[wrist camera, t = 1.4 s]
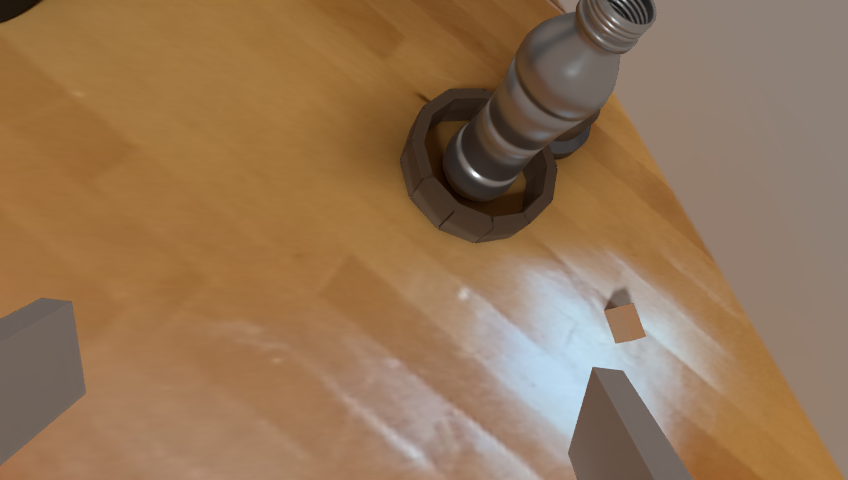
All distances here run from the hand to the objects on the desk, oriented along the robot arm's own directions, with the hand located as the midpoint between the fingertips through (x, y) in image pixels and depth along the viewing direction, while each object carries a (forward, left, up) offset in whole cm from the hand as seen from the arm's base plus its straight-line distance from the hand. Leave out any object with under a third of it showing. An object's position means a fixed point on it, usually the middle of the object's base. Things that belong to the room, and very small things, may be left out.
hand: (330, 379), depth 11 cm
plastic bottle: (-13, +19, -21) cm, 31 cm away
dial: (-16, +24, -20) cm, 35 cm away
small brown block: (+3, +29, -21) cm, 35 cm away
